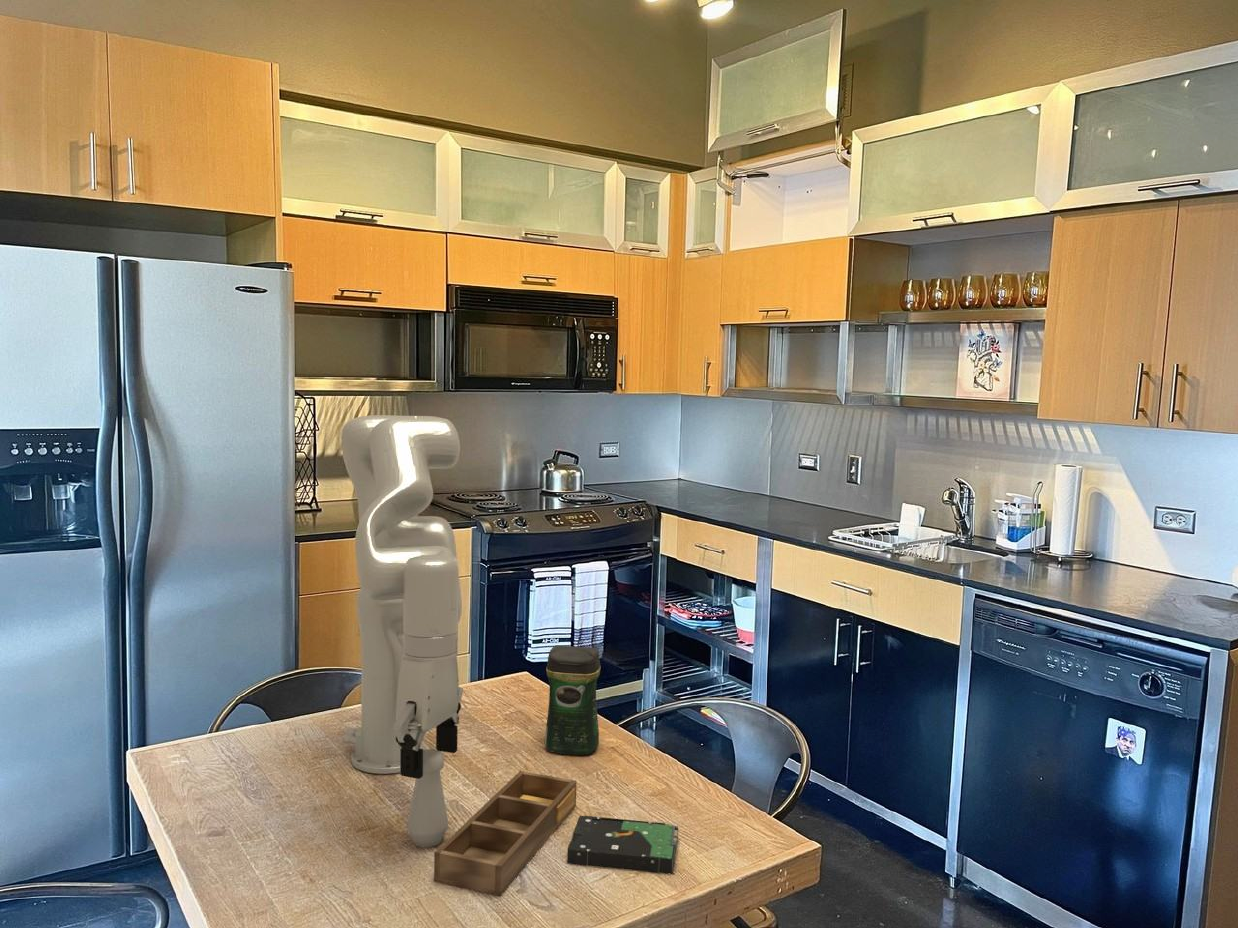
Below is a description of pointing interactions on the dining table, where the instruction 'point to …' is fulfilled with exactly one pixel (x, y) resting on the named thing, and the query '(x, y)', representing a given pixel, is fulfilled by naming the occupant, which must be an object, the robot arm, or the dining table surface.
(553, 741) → the coffee jar
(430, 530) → the robot arm
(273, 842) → the dining table surface
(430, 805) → the salt shaker
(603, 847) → the disk drive
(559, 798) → the wooden compartment tray
